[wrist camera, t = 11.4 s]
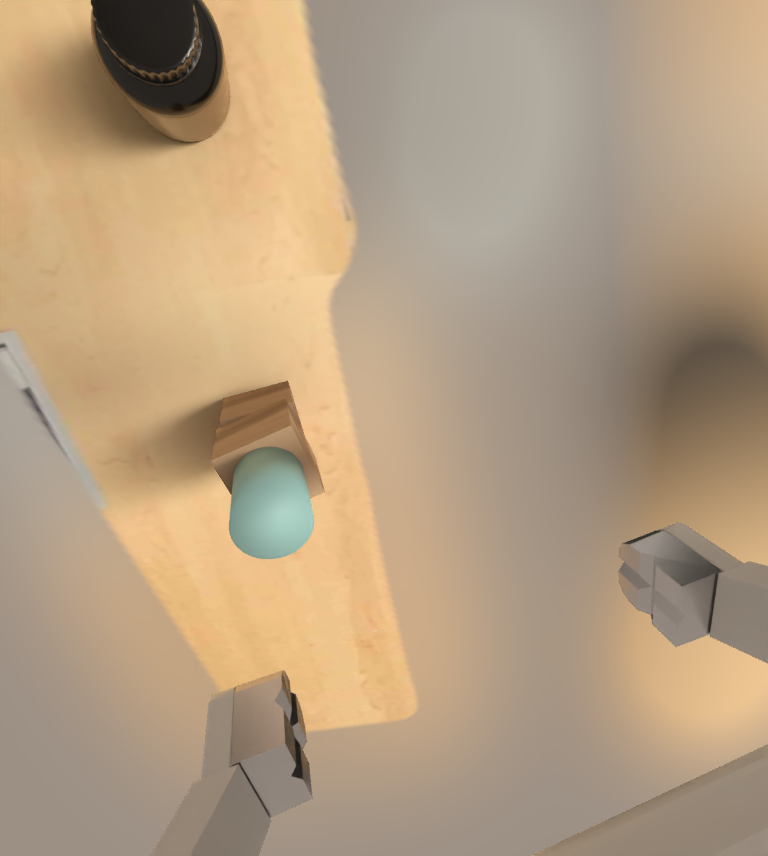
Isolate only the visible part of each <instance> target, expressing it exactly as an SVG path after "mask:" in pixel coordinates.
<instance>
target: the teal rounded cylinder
mask: <svg viewBox="0 0 768 856" xmlns="http://www.w3.org/2000/svg"><path fill="white" fill-rule="evenodd" d="M313 527H314V515H313V511H312V506H311V501H310V496H309V492H308V487H307V482H306V477H305V473H304V468H303V466H302V464H301V462H300V460H299V459H298V458H297V457H296V456H295V455H294V454H293V453H291V452H290V451H288V450H286V449H283V448H279V447H262V448H258V449H255V450H253V451H251V452H249V453H248V454H246V455H245V456H244V457H243V458H242V459H241V460H240V461H239V463H238V464H237V466H236V468H235V471H234V475H233V486H232V497H231V509H230V521H229V531H230V535H231V538H232V540H233V542H234V543H235V545H236V546H237V547H238V548H239V549H240V550H241V551H243V552H244V553H246V554H248V555H250V556H252V557H256V558H260V559H276V558H281V557H285V556H287V555H290V554H292V553H294V552H295V551H297V550H298V549H300V548H301V547H302V546H303V545H304V544H305V543H306V542H307V540H308V539H309V537H310V535H311V533H312V531H313Z"/></svg>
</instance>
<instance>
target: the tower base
mask: <svg viewBox="0 0 768 856" xmlns="http://www.w3.org/2000/svg"><path fill="white" fill-rule="evenodd" d="M285 398H286V400H287V402H288V404H289V406H290V408H291V410H292V412H293V414H294V416H295V418H296V420H297V422H298V424H299V426H300V428H301V430H302V432H303V429H302V425H301V422H300V419H299V416H298V412H297V409H296V406H295V403H294V399H293V396H292V393H291V390H290V386H289V383H288V381H286V382H282V383H278V384H275V385H271V386H267V387H264V388H260V389H256V390H253V391H249V392H245V393H242V394H238V395H234V396H231V397H227V398H224V399H223V404H222V410H221V415H220V420H219V423H220V425H221V426H223V425H226V424H228V423H230V422H232V421H235V420H237V419H239V418H242V417H244V416H246V415H248V414H251V413H253V412H255V411H258V410H260V409H262V408H264V407H267V406H269V405H271V404H274V403H276V402H278V401H280V400H283V399H285ZM303 434H304V432H303ZM304 436H305V435H304Z"/></svg>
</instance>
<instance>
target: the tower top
mask: <svg viewBox="0 0 768 856" xmlns="http://www.w3.org/2000/svg"><path fill="white" fill-rule="evenodd" d="M262 447H279V448H283V449H286V450H288V451H290V452H291V453H293V454H294V455H295V456H296V457H297V458H298V459H299V460H300V462H301V464H302V466H303V468H304V473H305V477H306V482H307V487H308V492H309V496H310V498H312V497H314V496H317V495H319V494H321V493H323V492H325V491H324V487H323V484H322V480H321V476H320V473H319V469H318V465H317V462H316V458H315V456H314V454H313V452H312V450H311V448H310V446H309V444H308V442H307V440H306V438H305V436H304V434H303V432H302V430H301V428H300V426H299V424H298V422H297V420H296V418H295V416H294V414H293V412H292V410H291V408H290V406H289V404H288V402H287V400H286V398H285V399H283V400H280V401H278V402H276V403H274V404H271V405H269V406H267V407H264V408H262V409H260V410H258V411H255V412H253V413H251V414H248V415H246V416H244V417H242V418H239V419H237V420H235V421H232V422H230V423H228V424H226V425H223V426H221V427H219V428H217V429H216V434H215V439H214V444H213V449H212V454H211V459H210V462H211V463H212V465H213V467H214V468H215V470H216V471H217V473H218V475H219V476H220V478H221V479H222V481H223V482H224V484H225V486H226V487H227V489H228V490H229V492H230V494H231V495H232V486H233V475H234V471H235V468H236V466H237V464H238V463H239V461H240V460H241V459H242V458H243V457H244V456H245V455H246V454H248V453H249V452H251V451H253V450H255V449H258V448H262Z"/></svg>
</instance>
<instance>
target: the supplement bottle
mask: <svg viewBox="0 0 768 856" xmlns="http://www.w3.org/2000/svg"><path fill="white" fill-rule="evenodd" d="M91 5H92V11H91V33H92V39H93V44H94V47H95V51H96V53H97V56H98V59H99V61H100V63H101V65H102V67H103V69H104V70H105V72H106V74H107V75H108V77H109V78H110V80H111V81H112V83H113V84H114V85H115V86H116V88H117V89H118V90H119V91H120V92H121V93H122V95H123V96H124V97H125V98H126V99H127V100H128V101H129V102H130V104H131V105H132V106H133V107H134V108H135V109H136V110H137V111H138V113H139V114H140V115H141V116H142V117H143V118H144V119H145V120H146V121H147V122H148V123H149V124H150V125H151V126H152V127H153V128H155V129H156V130H157V131H159V132H160V133H162V134H163V135H165V136H167V137H169V138H172V139H175V140H178V141H183V142H196V141H201V140H204V139H206V138H208V137H210V136H212V135H213V134H214V133H216V132H217V131H218V130H219V128H220V127H221V126H222V124H223V123H224V121H225V119H226V116H227V114H228V110H229V104H230V87H229V80H228V74H227V68H226V62H225V56H224V50H223V45H222V40H221V37H220V33H219V30H218V28H217V25H216V23H215V21H214V18H213V16H212V14H211V13H210V11H209V9H208V8H207V6H206V5H205V3H204V2H203V0H91Z"/></svg>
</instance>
